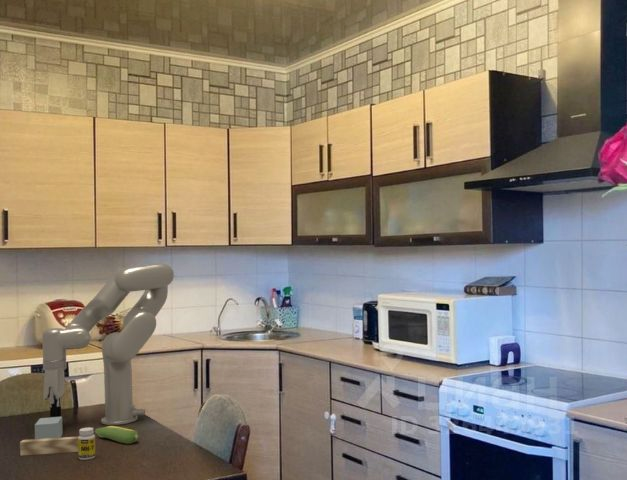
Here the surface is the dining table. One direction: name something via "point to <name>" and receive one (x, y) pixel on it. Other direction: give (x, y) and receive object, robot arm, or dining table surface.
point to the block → (48, 428)
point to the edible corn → (118, 434)
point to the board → (49, 446)
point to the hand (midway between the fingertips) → (55, 418)
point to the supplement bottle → (86, 444)
